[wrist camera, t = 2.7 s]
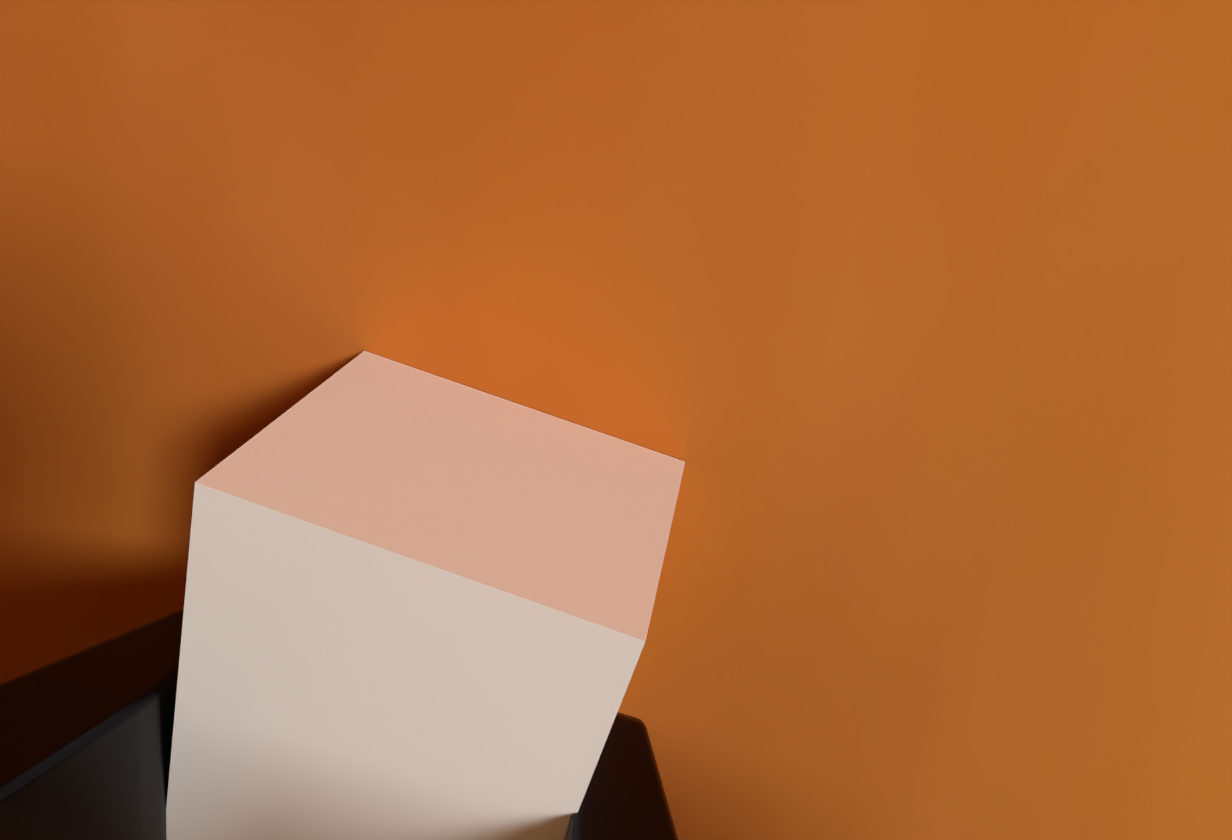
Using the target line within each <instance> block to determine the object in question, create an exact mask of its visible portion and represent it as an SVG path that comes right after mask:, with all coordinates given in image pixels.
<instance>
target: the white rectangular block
mask: <svg viewBox="0 0 1232 840" xmlns="http://www.w3.org/2000/svg"><path fill="white" fill-rule="evenodd" d="M684 465H685V461H682V460H679V459H676V458H673V457H670V456H667V455H664V454H662V453H659V452H656V451H653V450H650V449H647V448H644V447H641V446H638V445H635V444H633V443H630V442H627V441H624V440H621V439H618V438H615V437H612V436H609V435H607V434H604V433H601V432H598V431H595V430H592V429H589V428H586V427H583V426H581V425H578V424H575V423H572V422H569V421H566V420H563V419H560V418H557V417H555V416H552V415H549V414H546V413H543V412H540V411H537V410H534V409H531V408H529V407H526V406H523V405H520V404H517V403H514V402H511V401H508V400H505V399H502V398H500V397H497V396H494V395H491V394H488V393H485V392H482V391H479V390H476V389H474V388H471V387H468V386H465V385H462V384H459V383H456V382H453V381H450V380H448V379H445V378H442V377H439V376H436V375H433V374H430V373H427V372H424V371H422V370H419V369H416V368H413V367H410V366H407V365H404V364H401V363H398V362H396V361H393V360H390V359H387V358H384V357H381V356H378V355H375V354H372V353H369V352H367V351H363V352H362V353H361V354H359V355H358V356H357V357H355V358H354V359H353V360H352V361H350V362H349V363H348V364H346V365H345V366H344V367H343V368H341V369H340V370H339V371H337V372H336V373H335V374H334V375H332V376H331V377H330V378H328V379H327V380H326V381H325V382H323V383H322V384H321V385H319V386H318V387H317V388H316V389H314V390H313V391H312V392H310V393H309V394H308V395H307V396H305V397H304V398H303V399H301V400H300V401H299V402H297V403H296V404H295V405H294V406H292V407H291V408H290V409H288V410H287V411H286V412H285V413H283V414H282V415H281V416H279V417H278V418H277V419H276V420H274V421H273V422H272V423H270V424H269V425H268V426H267V427H265V428H264V429H263V430H261V431H260V432H259V433H258V434H256V435H255V436H254V437H252V438H251V439H250V440H249V441H247V442H246V443H245V444H243V445H242V446H241V447H240V448H238V449H237V450H236V451H234V452H233V453H232V454H231V455H229V456H228V457H227V458H225V459H224V460H223V461H221V462H220V463H219V464H218V465H216V466H215V467H214V468H212V469H211V470H210V471H209V472H207V473H206V474H205V475H203V476H202V477H201V478H200V479H198V480H197V481H196V482H195V487H194V498H193V510H192V521H191V532H190V544H189V555H188V567H187V578H186V589H185V601H184V612H183V623H182V635H181V646H180V657H179V669H178V680H177V692H176V703H175V714H174V726H173V737H172V748H171V760H170V771H169V782H168V794H167V805H166V840H564V838H565V834H566V831H567V827H568V823H569V820H570V817H571V815H572V814H574V813H578V811H579V808H580V806H581V803H582V800H583V798H584V795H585V793H586V790H587V788H588V785H589V783H590V780H591V778H592V775H593V773H594V770H595V768H596V765H597V763H598V760H599V757H600V755H601V752H602V750H603V747H604V745H605V742H606V740H607V737H608V735H609V732H610V730H611V727H612V725H613V722H614V720H615V717H616V715H617V712H618V709H619V707H620V704H621V702H622V699H623V697H624V694H625V692H626V689H627V687H628V684H629V682H630V679H631V677H632V674H633V672H634V669H635V666H636V664H637V661H638V659H639V656H640V654H641V651H642V649H643V646H644V644H645V641H646V637H647V632H648V628H649V623H650V619H651V614H652V610H653V605H654V600H655V596H656V591H657V587H658V582H659V578H660V573H661V569H662V564H663V560H664V555H665V551H666V546H667V542H668V537H669V533H670V528H671V524H672V519H673V515H674V510H675V506H676V501H677V497H678V492H679V488H680V483H681V479H682V474H683V469H684Z"/></svg>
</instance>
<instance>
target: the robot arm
mask: <svg viewBox="0 0 1232 840" xmlns="http://www.w3.org/2000/svg"><path fill="white" fill-rule="evenodd" d="M183 612H184V608H183V609H181V610H179V611H176V612H174V613H171V614H169V615H167V616H164V617H162V618H159V619H157V620H154V621H152V622H150V623H147V624H145V625H142V626H140V627H138V628H135V629H133V630H130V631H128V632H125V633H123V634H121V635H118V636H116V637H113V638H111V639H109V640H106V641H104V642H101V643H99V644H96V645H94V646H92V647H89V648H87V649H84V650H82V651H80V652H77V653H75V654H72V655H70V656H68V657H65V658H63V659H60V660H58V661H55V662H53V663H51V664H48V665H46V666H43V667H41V668H39V669H36V670H34V671H31V672H29V673H26V674H24V675H22V676H19V677H17V678H14V679H12V680H10V681H7V682H5V683H2V684H0V840H166V805H167V794H168V782H169V771H170V760H171V748H172V737H173V726H174V714H175V703H176V692H177V680H178V669H179V657H180V646H181V635H182V623H183ZM564 840H678V837H677V834H676V830H675V827H674V823H673V820H672V816H671V813H670V809H669V806H668V802H667V799H666V795H665V792H664V788H663V785H662V781H661V778H660V774H659V771H658V767H657V764H656V760H655V757H654V753H653V750H652V746H651V742H650V739H649V735H648V732H647V729H646V726H645V724H644V723H643V722H642V721H641V720H640V719H638V718H635V717H632V716H628V715H625V714H622V713H618V712H617V715H616V717H615V720H614V722H613V725H612V727H611V730H610V732H609V735H608V737H607V740H606V742H605V745H604V747H603V750H602V752H601V755H600V757H599V760H598V763H597V765H596V768H595V770H594V773H593V775H592V778H591V780H590V783H589V785H588V788H587V790H586V793H585V795H584V798H583V800H582V803H581V806H580V808H579V811H578V813H574V814H572V815H571V817H570V820H569V823H568V827H567V831H566V834H565V838H564Z"/></svg>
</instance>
